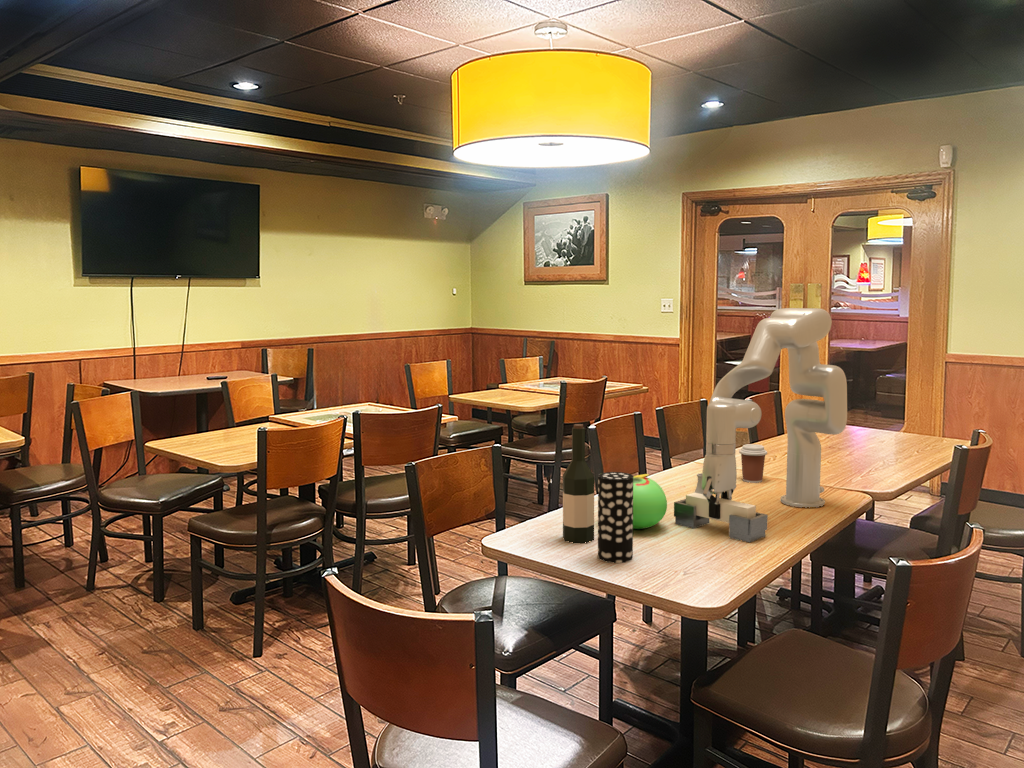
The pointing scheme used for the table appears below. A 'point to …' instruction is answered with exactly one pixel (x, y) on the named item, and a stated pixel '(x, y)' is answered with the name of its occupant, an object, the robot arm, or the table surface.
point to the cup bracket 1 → (688, 515)
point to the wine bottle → (578, 493)
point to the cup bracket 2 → (747, 527)
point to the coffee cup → (752, 462)
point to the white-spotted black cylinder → (615, 517)
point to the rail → (721, 507)
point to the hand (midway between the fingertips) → (719, 515)
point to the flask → (699, 484)
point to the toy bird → (647, 502)
